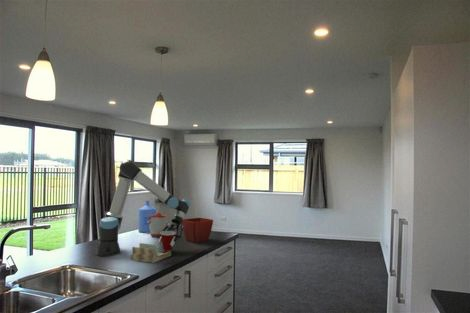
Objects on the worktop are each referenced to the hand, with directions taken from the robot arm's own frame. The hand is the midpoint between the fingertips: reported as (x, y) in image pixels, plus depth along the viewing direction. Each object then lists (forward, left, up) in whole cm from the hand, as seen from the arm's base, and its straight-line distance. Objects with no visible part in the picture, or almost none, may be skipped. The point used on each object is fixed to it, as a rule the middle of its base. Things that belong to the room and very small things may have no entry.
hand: (165, 244), depth 236 cm
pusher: (0, -18, -4) cm, 19 cm away
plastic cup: (0, +3, -4) cm, 5 cm away
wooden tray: (0, -15, -5) cm, 16 cm away
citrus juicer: (-41, +48, -6) cm, 63 cm away
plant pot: (0, +44, -6) cm, 45 cm away
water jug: (-62, +62, -6) cm, 88 cm away
